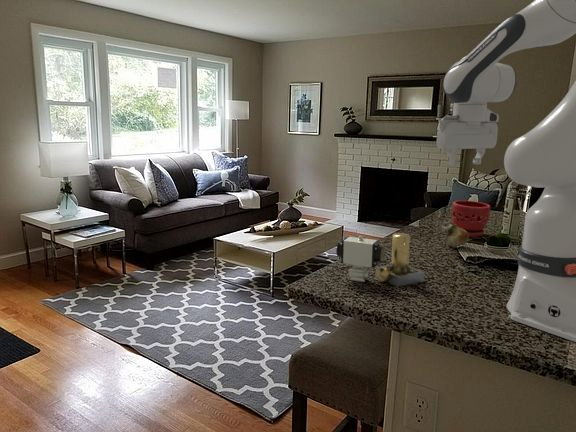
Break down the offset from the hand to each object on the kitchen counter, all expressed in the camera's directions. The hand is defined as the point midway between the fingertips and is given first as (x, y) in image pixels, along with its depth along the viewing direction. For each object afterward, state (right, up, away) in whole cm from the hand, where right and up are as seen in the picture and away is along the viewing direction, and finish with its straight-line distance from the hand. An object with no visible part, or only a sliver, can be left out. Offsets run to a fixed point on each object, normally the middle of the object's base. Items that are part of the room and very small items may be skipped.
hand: (464, 164), depth 128 cm
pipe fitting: (-21, -32, -10) cm, 39 cm away
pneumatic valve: (-32, -32, -10) cm, 46 cm away
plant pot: (+17, -22, +39) cm, 48 cm away
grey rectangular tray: (-21, -32, -10) cm, 39 cm away
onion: (+6, -26, +22) cm, 34 cm away
